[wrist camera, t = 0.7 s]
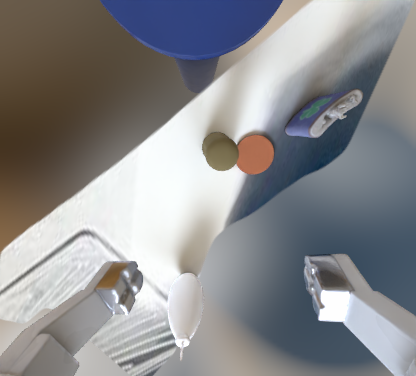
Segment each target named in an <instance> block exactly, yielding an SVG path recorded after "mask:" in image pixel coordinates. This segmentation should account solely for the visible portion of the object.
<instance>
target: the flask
mask: <svg viewBox="0 0 416 376" xmlns="http://www.w3.org/2000/svg"><path fill="white" fill-rule="evenodd" d="M362 98H363V93H362V91H361V90H359V89H352V90H349V91H344V92H340V93H335V94H330V95H326V96H320V97H317V98H315V99H313V100H312V101H310V102H308V104H306V105H305V106H304V107H303V108H301V109H300V111H299V112H298V113H297V114H296V115H295V116H294V117H293V118H292V119H291V120H290V121H289V122H288V124H287V126H286V128H285V132H286V134H288V135H290V136H305V137H310V138H317V137H319V136H321V135H322V134H323V133H324V132H325V130H326V129H327V128H328V127H329V126H330V125H331V124H332V123H333V122H334V121H335V120H337V119H338V118H339V119H343V118H346V116H347V115H346V116H343V114H344V113H345V112H347V111H348V110H350V109H352V108H353V107H355V106H357V105H358V104H359V103H360V102H361V101H362Z"/></svg>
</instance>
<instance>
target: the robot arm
mask: <svg viewBox="0 0 416 376" xmlns="http://www.w3.org/2000/svg"><path fill="white" fill-rule="evenodd" d="M304 262H305V265H306V267H305V268H304V279H305V284H306V287H307V290H308V292H309V293H310V294H311V295H312V296H313V300H312V304H313V307H314V309H315V312H316V315H317V317H318V320H319V321H332V322H344V324H345V325H346V326H347V327H348V328H349V329H350V330H351V332H352V333H354V335H356V337H357V338H358V339H359V340H360V341H361V342H362V343H363V344H364V345H365V346H366V347H367V348H368V349H369V350H370V351H371V352H372V353H373V354H374V355H375V356H376V357H377V358H378V359H379V360H380V361H381V362H382V363H383V364H384V365H385V366H386V367H387V368H388V369H389V370H390V371H391V372H392V373H393V374H394V375H395V376H416V316H414V315H413V314H412V313H410V312H408V311H407V310H405V309H404V308H402V307H401V306H399V305H398V304H396V303H395V302H393V301H392V300H390V299H389V298H387V297H386V296H384V295H382V294H381V293H380V292H376V291H372V289H371V288H370V286H369V285H368V283H367V282H366V280H365V279H364V278H363V276H362V275H361V273H360V272H359V271H358V269H357V268H356V266H355V265H354V263H353V262H352V261H351V259H350V258H349V256H348V255H346V254H325V255H306V256H305V258H304ZM137 267H138V265H137V263H136V262H135V261H108V262H106V263H104V265H103V266H102V267H101V269H100V270H99V271H98V272H97V274H96V275H95V276H94V278H93V279H92V280H91V281H90V283H89V284H88V285H87V287H86V288H85V289H84V290H81V291H79V292H78V293H76V294H75V295H73V296H72V297H71V298H69V299H68V300H66V301H65V302H63V303H62V304H61V305H59V306H58V307H56V308H55V309H53V310H52V311H51V312H50V313H48V314H46V315H45V316H44V317H42V318H41V319H39V320H38V321H36V322H35V323H34V324H32V325H31V326H30V327H28V328H26V329H25V330H24V331H22V332H21V334H20V335H19V336H18V337H17V338H16V339H15V340H14V341H13V343H12V344H11V345H10V346H9V347H8V348H7V349H6V351H4V353H3V354H2V355H1V356H0V376H74V375H75V373H76V371H77V369H78V367H79V362H78V361H77V360H76V359H75V358H74V357H73V356H74V355H75V354H76V353H77V352H78V351H79V350H80V349H81V348H82V347H83V346H84V345H85V344H86V343H87V341H89V340H90V338H91V337H92V336H93V335H94V334H95V333H96V332H97V331H98V330H99V329H100V328H101V327H102V326H103V325H104V324H105V323H106V322H107V321H108V320H109V319H110V318H111V317H112V316H113V314H129V312H130V310H131V308H132V306H133V304H134V302H135V295H136V294H137V293H138V292H140V290H141V287H142V284H143V275H142V273H141V272H140V271H139V270H138V269H137Z"/></svg>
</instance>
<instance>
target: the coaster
mask: <svg viewBox="0 0 416 376" xmlns="http://www.w3.org/2000/svg"><path fill="white" fill-rule="evenodd" d="M237 147H238V150H239V158H238V160H237V163H236V164H237V166H238V167H239V168H240V170H242V171H243V172H245V173H247V174H259V173H261V172H263V171H265V170H266V169H267V168H268V167H269V166H270V164H271V163H272V160H273V157H274V149H273V146H272V144H271V142H270V141H269V140H268V139H267V138H265V137H263V136H261V135H251V136H248V137H246V138H244V139H243V140H242V141H241V142H240V143H239V144H238V146H237Z"/></svg>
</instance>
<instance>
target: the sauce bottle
mask: <svg viewBox="0 0 416 376" xmlns="http://www.w3.org/2000/svg"><path fill="white" fill-rule="evenodd" d="M203 305H204V295H203V289H202V285H201V283H200V281H199V279H198V278H197V276H196V275H194V274H193V273H184V274H181V275H180V276H178V277H177V278H176V280H175V281H174V282H173V284H172V286H171V289H170V292H169V297H168V317H169V323H170V327H171V330H172V332H173V335H174V337H175V338H176V339H175V342H176V344H177V345H178V346H179V347H181V352H180V359H181V360H182V356H183V347H185V346H187V345H188V344H189V343H190V339H191V337H192V336H193V335H194V333H195V331H196V329H197V327H198V325H199V322H200V319H201V316H202V311H203Z"/></svg>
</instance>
